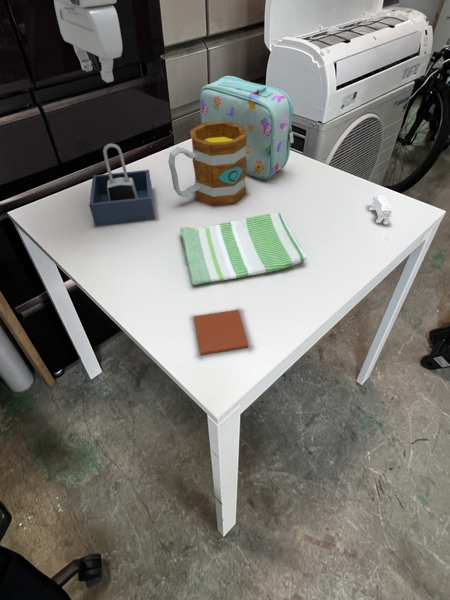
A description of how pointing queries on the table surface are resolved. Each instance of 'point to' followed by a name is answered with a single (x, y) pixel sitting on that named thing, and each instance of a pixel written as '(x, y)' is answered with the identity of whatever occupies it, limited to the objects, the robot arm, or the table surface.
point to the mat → (220, 332)
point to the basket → (122, 209)
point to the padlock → (119, 180)
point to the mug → (215, 163)
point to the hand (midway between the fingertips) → (97, 75)
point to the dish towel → (240, 248)
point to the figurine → (381, 209)
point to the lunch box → (253, 120)
